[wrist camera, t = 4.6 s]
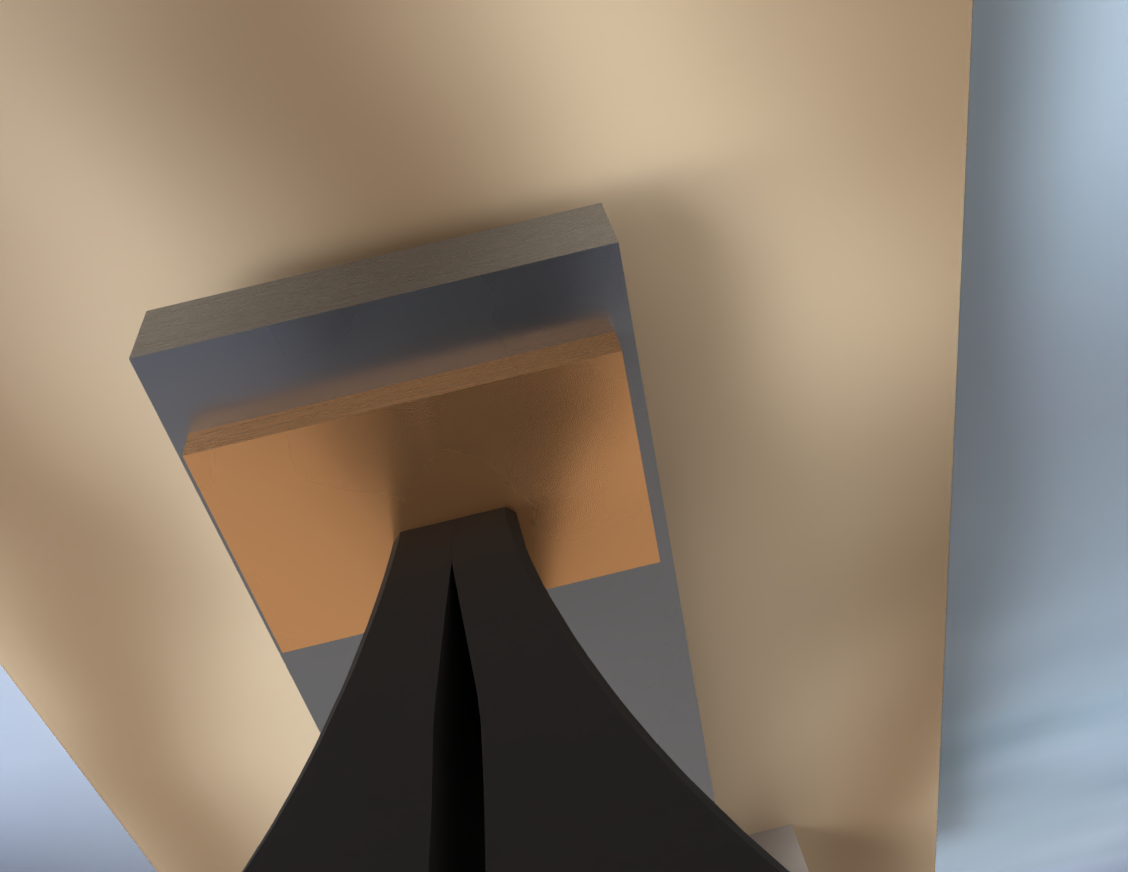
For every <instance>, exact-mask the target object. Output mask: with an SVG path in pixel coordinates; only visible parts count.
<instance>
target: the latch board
mask: <svg viewBox="0 0 1128 872" xmlns="http://www.w3.org/2000/svg"><path fill="white" fill-rule="evenodd" d="M972 8H973V0H0V664H1V666H2V667H3V668H4V670H5V671H6V672H7V674H8V675H9V676H10V678H11V679H12V680H13V682H14V683H15V684H16V686H17V687H18V688H19V689H20V691H21V692H22V693H23V695H24V696H25V697H26V699H27V700H28V701H29V703H30V704H31V705H32V707H33V708H34V709H35V711H36V712H37V713H38V715H39V716H40V717H41V719H42V720H43V721H44V723H45V724H46V725H47V727H48V728H49V729H50V730H51V732H52V733H53V734H54V736H55V737H56V738H57V740H58V741H59V742H60V744H61V745H62V746H63V748H64V749H65V750H66V752H67V753H68V754H69V756H70V757H71V758H72V760H73V761H74V762H75V764H76V765H77V766H78V767H79V769H80V770H81V771H82V773H83V774H84V775H85V777H86V778H87V779H88V781H89V782H90V783H91V785H92V786H93V787H94V789H95V790H96V791H97V793H98V794H99V795H100V797H101V798H102V799H103V801H104V802H105V803H106V805H107V806H108V807H109V808H110V810H111V811H112V812H113V814H114V815H115V816H116V818H117V819H118V820H119V822H120V823H121V824H122V826H123V827H124V828H125V830H126V831H127V832H128V834H129V835H130V836H131V838H132V839H133V840H134V842H135V843H136V844H137V845H138V847H139V848H140V849H141V851H142V852H143V853H144V855H145V856H146V857H147V859H148V860H149V861H150V863H151V864H152V865H153V867H154V868H155V869H156V871H157V872H242V871H243V869H244V868H245V866H246V865H247V863H248V861H249V860H250V858H251V857H252V855H253V854H254V852H255V850H256V849H257V847H258V846H259V844H260V843H261V841H262V839H263V838H264V836H265V835H266V833H267V831H268V830H269V828H270V826H271V825H272V823H273V821H274V820H275V818H276V816H277V814H278V813H279V811H280V809H281V807H282V806H283V804H284V802H285V800H286V799H287V797H288V795H289V793H290V792H291V790H292V788H293V786H294V784H295V783H296V781H297V779H298V777H299V775H300V773H301V771H302V769H303V768H304V766H305V764H306V762H307V760H308V758H309V756H310V754H311V752H312V750H313V748H314V746H315V744H316V742H317V740H318V738H319V736H320V732H319V730H318V728H317V726H316V724H315V722H314V720H313V718H312V716H311V714H310V712H309V710H308V708H307V706H306V704H305V702H304V700H303V698H302V696H301V694H300V693H299V691H298V689H297V687H296V685H295V683H294V681H293V679H292V677H291V675H290V673H289V671H288V669H287V667H286V665H285V663H284V661H283V659H282V657H281V655H280V653H279V651H278V649H277V648H276V646H275V644H274V642H273V640H272V638H271V636H270V634H269V632H268V630H267V628H266V626H265V624H264V622H263V620H262V618H261V616H260V614H259V612H258V610H257V608H256V606H255V605H254V603H253V601H252V599H251V597H250V595H249V593H248V591H247V589H246V587H245V585H244V583H243V581H242V579H241V577H240V575H239V573H238V571H237V569H236V567H235V565H234V563H233V561H232V560H231V558H230V556H229V554H228V552H227V550H226V548H225V546H224V544H223V542H222V540H221V538H220V536H219V534H218V532H217V530H216V528H215V526H214V524H213V522H212V520H211V518H210V517H209V515H208V513H207V511H206V509H205V507H204V505H203V503H202V501H201V499H200V497H199V495H198V493H197V491H196V489H195V487H194V485H193V483H192V481H191V479H190V477H189V475H188V473H187V472H186V470H185V468H184V466H183V464H182V462H181V460H180V458H179V456H178V454H177V452H176V450H175V448H174V446H173V444H172V442H171V440H170V438H169V436H168V434H167V432H166V430H165V429H164V427H163V425H162V423H161V421H160V419H159V417H158V415H157V413H156V411H155V409H154V407H153V405H152V403H151V401H150V399H149V397H148V395H147V393H146V391H145V389H144V387H143V385H142V384H141V382H140V380H139V378H138V376H137V374H136V372H135V370H134V368H133V366H132V364H131V362H130V360H129V357H130V354H131V352H132V349H133V346H134V344H135V341H136V338H137V335H138V333H139V330H140V327H141V325H142V322H143V319H144V316H145V314H146V311H149V310H153V309H157V308H161V307H165V306H170V305H174V304H178V303H182V302H186V301H191V300H195V299H199V298H203V297H207V296H212V295H216V294H220V293H224V292H228V291H233V290H237V289H241V288H245V287H249V286H254V285H258V284H262V283H266V282H270V281H275V280H279V279H283V278H287V277H291V276H296V275H300V274H304V273H308V272H312V271H317V270H321V269H325V268H329V267H333V266H338V265H342V264H346V263H350V262H354V261H359V260H363V259H367V258H371V257H375V256H380V255H384V254H388V253H392V252H396V251H401V250H405V249H409V248H413V247H417V246H422V245H426V244H430V243H434V242H438V241H443V240H447V239H451V238H455V237H460V236H464V235H468V234H472V233H476V232H481V231H485V230H489V229H493V228H497V227H502V226H506V225H510V224H514V223H518V222H523V221H527V220H531V219H535V218H539V217H544V216H548V215H552V214H556V213H560V212H565V211H569V210H573V209H577V208H581V207H586V206H590V205H594V204H598V203H602V205H603V208H604V210H605V212H606V215H607V217H608V219H609V221H610V224H611V226H612V228H613V231H614V233H615V235H616V237H617V240H618V242H619V247H620V253H621V259H622V265H623V271H624V277H625V282H626V288H627V294H628V300H629V306H630V311H631V317H632V323H633V329H634V335H635V341H636V346H637V352H638V358H639V364H640V370H641V375H642V381H643V387H644V393H645V399H646V405H647V410H648V416H649V422H650V428H651V434H652V440H653V445H654V451H655V457H656V463H657V469H658V474H659V480H660V486H661V492H662V498H663V504H664V509H665V515H666V521H667V527H668V533H669V538H670V544H671V550H672V556H673V562H674V568H675V573H676V579H677V585H678V591H679V597H680V602H681V608H682V614H683V620H684V626H685V632H686V637H687V643H688V649H689V655H690V661H691V667H692V672H693V678H694V684H695V690H696V696H697V701H698V707H699V713H700V719H701V725H702V731H703V736H704V742H705V748H706V754H707V760H708V765H709V771H710V777H711V783H712V789H713V795H714V800H715V804H716V805H717V806H718V807H719V808H720V809H722V810H723V811H724V812H725V813H726V814H727V815H728V816H729V817H730V818H731V819H732V820H733V821H734V822H735V823H736V824H737V825H738V826H739V827H740V828H741V829H742V830H743V831H744V832H745V833H746V834H747V835H749V836H750V837H751V838H752V839H753V840H754V841H755V842H757V843H758V844H759V845H760V846H761V847H762V848H763V849H764V850H766V851H767V852H768V853H769V854H770V855H771V856H772V857H774V858H775V859H776V860H777V861H778V862H779V863H780V864H781V865H783V866H784V867H785V868H786V869H787V870H788V871H790V872H935V859H936V836H937V813H938V790H939V767H940V744H941V721H942V698H943V675H944V652H945V629H946V606H947V583H948V560H949V537H950V514H951V491H952V468H953V445H954V422H955V399H956V376H957V353H958V330H959V307H960V284H961V261H962V238H963V215H964V192H965V169H966V146H967V123H968V100H969V77H970V54H971V31H972Z"/></svg>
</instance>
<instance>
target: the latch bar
mask: <svg viewBox="0 0 1128 872" xmlns="http://www.w3.org/2000/svg"><path fill="white" fill-rule="evenodd" d="M129 360H130V362H131V364H132V366H133V368H134V370H135V372H136V374H137V376H138V378H139V380H140V382H141V384H142V385H143V387H144V389H145V391H146V393H147V395H148V397H149V399H150V401H151V403H152V405H153V407H154V409H155V411H156V413H157V415H158V417H159V419H160V421H161V423H162V425H163V427H164V429H165V430H166V432H167V434H168V436H169V438H170V440H171V442H172V444H173V446H174V448H175V450H176V452H177V454H178V456H179V458H180V460H181V462H182V464H183V466H184V468H185V470H186V472H187V473H188V475H189V477H190V479H191V481H192V483H193V485H194V487H195V489H196V491H197V493H198V495H199V497H200V499H201V501H202V503H203V505H204V507H205V509H206V511H207V513H208V515H209V517H210V518H211V520H212V522H213V524H214V526H215V528H216V530H217V532H218V534H219V536H220V538H221V540H222V542H223V544H224V546H225V548H226V550H227V552H228V554H229V556H230V558H231V560H232V561H233V563H234V565H235V567H236V569H237V571H238V573H239V575H240V577H241V579H242V581H243V583H244V585H245V587H246V589H247V591H248V593H249V595H250V597H251V599H252V601H253V603H254V605H255V606H256V608H257V610H258V612H259V614H260V616H261V618H262V620H263V622H264V624H265V626H266V628H267V630H268V632H269V634H270V636H271V638H272V640H273V642H274V644H275V646H276V648H277V649H278V651H279V653H280V655H281V657H282V659H283V661H284V663H285V665H286V667H287V669H288V671H289V673H290V675H291V677H292V679H293V681H294V683H295V685H296V687H297V689H298V691H299V693H300V694H301V696H302V698H303V700H304V702H305V704H306V706H307V708H308V710H309V712H310V714H311V716H312V718H313V720H314V722H315V724H316V726H317V728H318V730H319V732H320V734H321V731H322V729H323V727H324V725H325V723H326V721H327V719H328V716H329V714H330V712H331V710H332V708H333V706H334V704H335V701H336V699H337V697H338V695H339V693H340V691H341V688H342V686H343V684H344V682H345V679H346V677H347V675H348V672H349V670H350V667H351V664H352V662H353V659H354V657H355V654H356V652H357V649H358V647H359V644H360V642H361V639H362V637H363V634H364V632H365V629H366V627H367V624H368V621H369V618H370V616H371V613H372V610H373V607H374V604H375V601H376V598H377V596H378V593H379V590H380V587H381V583H382V580H383V577H384V574H385V571H386V567H387V564H388V561H389V557H390V554H391V550H392V546H393V542H394V540H395V539H396V538H397V536H398V535H399V533H400V532H402V531H407V530H411V529H415V528H419V527H423V526H427V525H432V524H436V523H440V522H444V521H448V520H453V519H457V518H461V517H465V516H469V515H473V514H477V513H481V512H485V511H490V510H494V509H498V508H502V507H506V508H508V509H510V510H512V511H514V512H516V514H517V517H518V521H519V524H520V528H521V531H522V535H523V538H524V542H525V545H526V549H527V551H528V553H529V556H530V558H531V560H532V562H533V564H534V566H535V569H536V571H537V573H538V575H539V577H540V579H541V581H542V583H543V585H544V586H545V588H546V590H547V592H548V594H549V595H550V597H551V599H552V601H553V602H554V604H555V605H556V607H557V609H558V610H559V612H560V614H561V615H562V617H563V618H564V620H565V622H566V623H567V625H568V627H569V628H570V630H571V631H572V633H573V635H574V636H575V638H576V639H577V641H578V642H579V644H580V645H581V646H582V648H583V649H584V651H585V652H586V654H587V655H588V657H589V658H590V659H591V661H592V662H593V664H594V665H595V666H596V668H597V669H598V670H599V672H600V673H601V675H602V676H603V677H604V679H605V680H606V681H607V683H608V684H609V685H610V687H611V688H612V689H613V691H614V692H615V693H616V694H617V696H618V697H619V698H620V700H621V701H622V702H623V703H624V705H625V706H626V707H627V708H628V710H629V711H630V712H631V713H632V715H633V716H634V717H635V718H636V719H637V720H638V722H639V723H640V724H641V725H642V726H643V727H644V729H645V730H646V731H647V732H648V733H649V734H650V736H651V737H652V738H653V739H654V740H655V741H656V743H657V744H658V745H659V746H660V747H661V748H662V749H663V750H664V751H665V752H666V754H667V755H668V756H669V757H670V758H671V759H672V760H673V761H674V762H675V763H676V764H677V766H678V767H679V768H680V769H681V770H682V771H683V772H684V773H685V774H686V775H687V776H688V777H689V778H690V779H691V780H692V781H693V782H694V783H695V784H696V785H697V786H698V787H699V788H700V789H701V790H702V791H703V792H704V793H705V794H706V795H707V796H708V797H709V798H710V799H711V800H712V801H713V802H714V803H715V800H714V795H713V789H712V783H711V777H710V771H709V765H708V760H707V754H706V748H705V742H704V736H703V731H702V725H701V719H700V713H699V707H698V701H697V696H696V690H695V684H694V678H693V672H692V667H691V661H690V655H689V649H688V643H687V637H686V632H685V626H684V620H683V614H682V608H681V602H680V597H679V591H678V585H677V579H676V573H675V568H674V562H673V556H672V550H671V544H670V538H669V533H668V527H667V521H666V515H665V509H664V504H663V498H662V492H661V486H660V480H659V474H658V469H657V463H656V457H655V451H654V445H653V440H652V434H651V428H650V422H649V416H648V410H647V405H646V399H645V393H644V387H643V381H642V375H641V370H640V364H639V358H638V352H637V346H636V341H635V335H634V329H633V323H632V317H631V311H630V306H629V300H628V294H627V288H626V282H625V277H624V271H623V265H622V259H621V253H620V247H619V242H618V240H617V237H616V235H615V233H614V231H613V228H612V226H611V224H610V221H609V219H608V217H607V215H606V212H605V210H604V208H603V205H602V203H598V204H594V205H590V206H586V207H581V208H577V209H573V210H569V211H565V212H560V213H556V214H552V215H548V216H544V217H539V218H535V219H531V220H527V221H523V222H518V223H514V224H510V225H506V226H502V227H497V228H493V229H489V230H485V231H481V232H476V233H472V234H468V235H464V236H460V237H455V238H451V239H447V240H443V241H438V242H434V243H430V244H426V245H422V246H417V247H413V248H409V249H405V250H401V251H396V252H392V253H388V254H384V255H380V256H375V257H371V258H367V259H363V260H359V261H354V262H350V263H346V264H342V265H338V266H333V267H329V268H325V269H321V270H317V271H312V272H308V273H304V274H300V275H296V276H291V277H287V278H283V279H279V280H275V281H270V282H266V283H262V284H258V285H254V286H249V287H245V288H241V289H237V290H233V291H228V292H224V293H220V294H216V295H212V296H207V297H203V298H199V299H195V300H191V301H186V302H182V303H178V304H174V305H170V306H165V307H161V308H157V309H153V310H149V311H146V314H145V316H144V319H143V322H142V325H141V327H140V330H139V333H138V335H137V338H136V341H135V344H134V346H133V349H132V352H131V354H130V357H129Z"/></svg>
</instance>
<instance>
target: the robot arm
mask: <svg viewBox="0 0 1128 872" xmlns="http://www.w3.org/2000/svg"><path fill="white" fill-rule="evenodd" d="M242 872H790V871H788V870H787V869H786V868H785V867H784V866H783V865H781V864H780V863H779V862H778V861H777V860H776V859H775V858H774V857H772V856H771V855H770V854H769V853H768V852H767V851H766V850H764V849H763V848H762V847H761V846H760V845H759V844H758V843H757V842H755V841H754V840H753V839H752V838H751V837H750V836H749V835H747V834H746V833H745V832H744V831H743V830H742V829H741V828H740V827H739V826H738V825H737V824H736V823H735V822H734V821H733V820H732V819H731V818H730V817H729V816H728V815H727V814H726V813H725V812H724V811H723V810H722V809H720V808H719V807H718V806H717V805H716V804H715V803H714V802H713V801H712V800H711V799H710V798H709V797H708V796H707V795H706V794H705V793H704V792H703V791H702V790H701V789H700V788H699V787H698V786H697V785H696V784H695V783H694V782H693V781H692V780H691V779H690V778H689V777H688V776H687V775H686V774H685V773H684V772H683V771H682V770H681V769H680V768H679V767H678V766H677V764H676V763H675V762H674V761H673V760H672V759H671V758H670V757H669V756H668V755H667V754H666V752H665V751H664V750H663V749H662V748H661V747H660V746H659V745H658V744H657V743H656V741H655V740H654V739H653V738H652V737H651V736H650V734H649V733H648V732H647V731H646V730H645V729H644V727H643V726H642V725H641V724H640V723H639V722H638V720H637V719H636V718H635V717H634V716H633V715H632V713H631V712H630V711H629V710H628V708H627V707H626V706H625V705H624V703H623V702H622V701H621V700H620V698H619V697H618V696H617V694H616V693H615V692H614V691H613V689H612V688H611V687H610V685H609V684H608V683H607V681H606V680H605V679H604V677H603V676H602V675H601V673H600V672H599V670H598V669H597V668H596V666H595V665H594V664H593V662H592V661H591V659H590V658H589V657H588V655H587V654H586V652H585V651H584V649H583V648H582V646H581V645H580V644H579V642H578V641H577V639H576V638H575V636H574V635H573V633H572V631H571V630H570V628H569V627H568V625H567V623H566V622H565V620H564V618H563V617H562V615H561V614H560V612H559V610H558V609H557V607H556V605H555V604H554V602H553V601H552V599H551V597H550V595H549V594H548V592H547V590H546V588H545V586H544V585H543V583H542V581H541V579H540V577H539V575H538V573H537V571H536V569H535V566H534V564H533V562H532V560H531V558H530V556H529V553H528V551H527V549H526V545H525V542H524V538H523V535H522V531H521V528H520V524H519V521H518V517H517V514H516V512H514V511H512V510H510V509H508V508H506V507H502V508H498V509H494V510H490V511H485V512H481V513H477V514H473V515H469V516H465V517H461V518H457V519H453V520H448V521H444V522H440V523H436V524H432V525H427V526H423V527H419V528H415V529H411V530H407V531H402V532H400V533H399V535H398V536H397V538H396V539H395V540H394V542H393V546H392V550H391V554H390V557H389V561H388V564H387V567H386V571H385V574H384V577H383V580H382V583H381V587H380V590H379V593H378V596H377V598H376V601H375V604H374V607H373V610H372V613H371V616H370V618H369V621H368V624H367V627H366V629H365V632H364V634H363V637H362V639H361V642H360V644H359V647H358V649H357V652H356V654H355V657H354V659H353V662H352V664H351V667H350V670H349V672H348V675H347V677H346V679H345V682H344V684H343V686H342V688H341V691H340V693H339V695H338V697H337V699H336V701H335V704H334V706H333V708H332V710H331V712H330V714H329V716H328V719H327V721H326V723H325V725H324V727H323V729H322V731H321V734H320V736H319V738H318V740H317V742H316V744H315V746H314V748H313V750H312V752H311V754H310V756H309V758H308V760H307V762H306V764H305V766H304V768H303V769H302V771H301V773H300V775H299V777H298V779H297V781H296V783H295V784H294V786H293V788H292V790H291V792H290V793H289V795H288V797H287V799H286V800H285V802H284V804H283V806H282V807H281V809H280V811H279V813H278V814H277V816H276V818H275V820H274V821H273V823H272V825H271V826H270V828H269V830H268V831H267V833H266V835H265V836H264V838H263V839H262V841H261V843H260V844H259V846H258V847H257V849H256V850H255V852H254V854H253V855H252V857H251V858H250V860H249V861H248V863H247V865H246V866H245V868H244V869H243V871H242Z"/></svg>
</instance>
